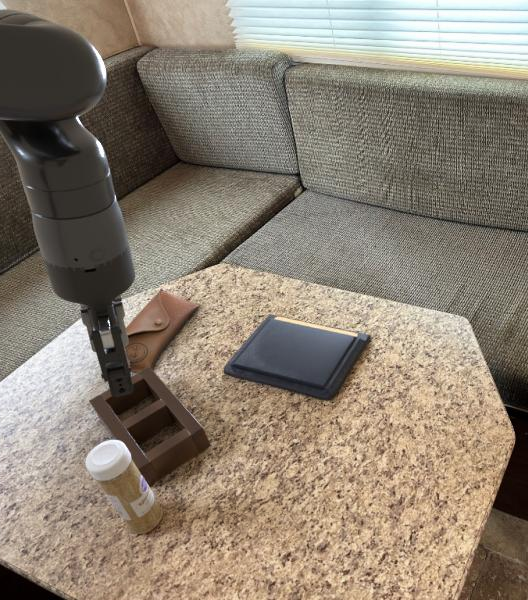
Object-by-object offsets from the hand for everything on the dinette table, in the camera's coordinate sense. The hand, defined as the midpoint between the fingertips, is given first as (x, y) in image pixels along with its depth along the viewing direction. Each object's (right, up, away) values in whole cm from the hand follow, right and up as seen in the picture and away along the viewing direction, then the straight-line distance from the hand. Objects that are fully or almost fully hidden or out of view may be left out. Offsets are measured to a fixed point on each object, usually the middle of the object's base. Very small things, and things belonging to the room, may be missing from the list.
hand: (118, 367), depth 67 cm
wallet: (+15, -2, +32) cm, 35 cm away
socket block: (-5, -12, +22) cm, 25 cm away
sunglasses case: (-11, +1, +39) cm, 40 cm away
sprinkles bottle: (-1, -21, +10) cm, 23 cm away
